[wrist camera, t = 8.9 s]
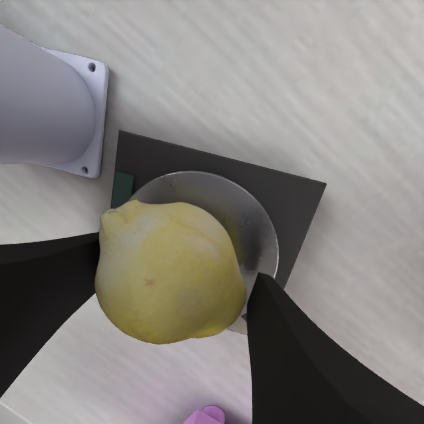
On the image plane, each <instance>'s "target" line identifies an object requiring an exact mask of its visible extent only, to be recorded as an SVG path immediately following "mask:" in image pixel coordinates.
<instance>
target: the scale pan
mask: <svg viewBox="0 0 424 424" xmlns="http://www.w3.org/2000/svg"><path fill="white" fill-rule="evenodd" d="M136 199H137V201H139V202H141V203H146V204H169V203H176V202H183V203H188V204H191V205H194V206H197V207H199V208H201V209H203V210H205V211H206V212H208V213H209V214H211V215H212V216H213V217H214V218H215V219H216V220H217V221H218V222H219V223H220V224H221V225H222V226H223V227H224V229H225V230H226V232H227V233H228V235H229V237H230V239H231V242H232V245H233V247H234V251H235V255H236V258H237V262H238V265H239V270H240V273H241V275H242V278H243V280H244V282H245V285H246V289H247V296H246V302H245V305H244V308H243V310H242V312H241V314H240V316H242V315H244V314H245V313H247V302H248V300H249V297H250V294H251V291H252V288H253V285H254V283H255V280H256V277H257V274H258V272H261V273H264V274H268V275H270V276H271V277H272V278H273V279H274V278H275V275H276V272H277V267H278V260H279V247H278V241H277V236H276V233H275V229H274V226H273V224H272V222H271V220H270V218H269V216H268V214H267V213H266V211H265V210H264V208H263V206H262V205H261V204H260V202H259V201H258V200H257V199H256V198H255V197H254V196H253V195H252V194H251V193H250V192H249V191H248V190H247V189H245V188H244V187H242V186H241V185H239V184H238V183H236V182H235V181H233V180H231V179H229V178H227V177H224V176H221V175H218V174H215V173H211V172H205V171H193V170H191V171H180V172H175V173H170V174H166V175H163V176H161V177H158V178H156V179H154V180H152V181H150V182H148V183H147V184H145V185H144V186H143V187H141V188H140V189H139V190H137V191H136V193H135V194H134V195H133V196H132V197H131V198H130V199H129V200H128V202H130V201H133V200H136Z"/></svg>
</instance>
